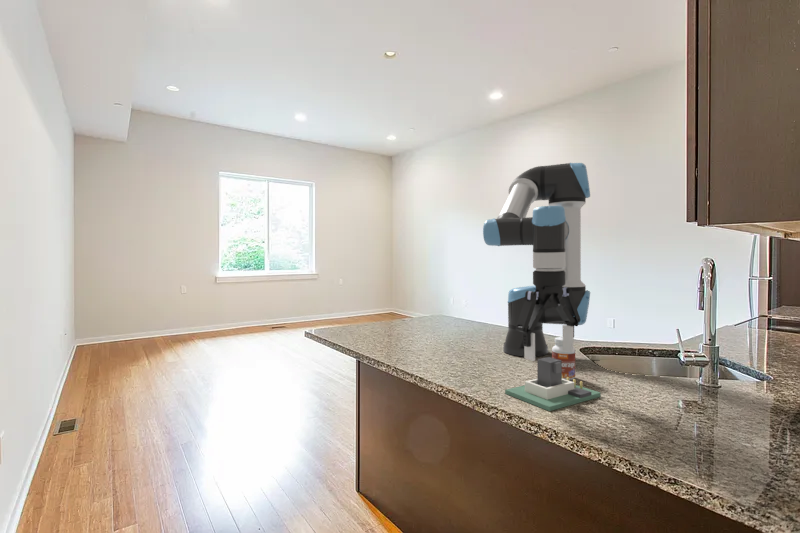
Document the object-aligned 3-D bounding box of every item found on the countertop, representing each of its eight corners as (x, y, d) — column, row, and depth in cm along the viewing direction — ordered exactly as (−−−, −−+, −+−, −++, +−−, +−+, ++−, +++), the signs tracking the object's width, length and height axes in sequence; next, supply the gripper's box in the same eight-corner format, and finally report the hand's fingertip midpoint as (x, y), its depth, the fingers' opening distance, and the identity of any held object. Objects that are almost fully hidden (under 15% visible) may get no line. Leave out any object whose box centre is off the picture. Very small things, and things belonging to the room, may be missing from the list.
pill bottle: (557, 381, 118) (556, 341, 117) (548, 374, 124) (548, 336, 123) (579, 380, 118) (579, 340, 117) (569, 374, 124) (569, 336, 124)
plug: (548, 388, 109) (548, 357, 108) (564, 393, 104) (564, 361, 104) (537, 391, 107) (537, 359, 106) (553, 396, 102) (552, 363, 102)
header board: (554, 381, 117) (554, 369, 117) (600, 396, 105) (600, 382, 105) (505, 393, 108) (505, 379, 108) (549, 411, 96) (549, 395, 96)
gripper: (570, 266, 114) (570, 344, 115) (499, 271, 102) (501, 359, 103) (595, 267, 108) (595, 350, 109) (523, 273, 95) (524, 367, 97)
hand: (549, 355), depth 106 cm, fingers open, 13 cm apart
